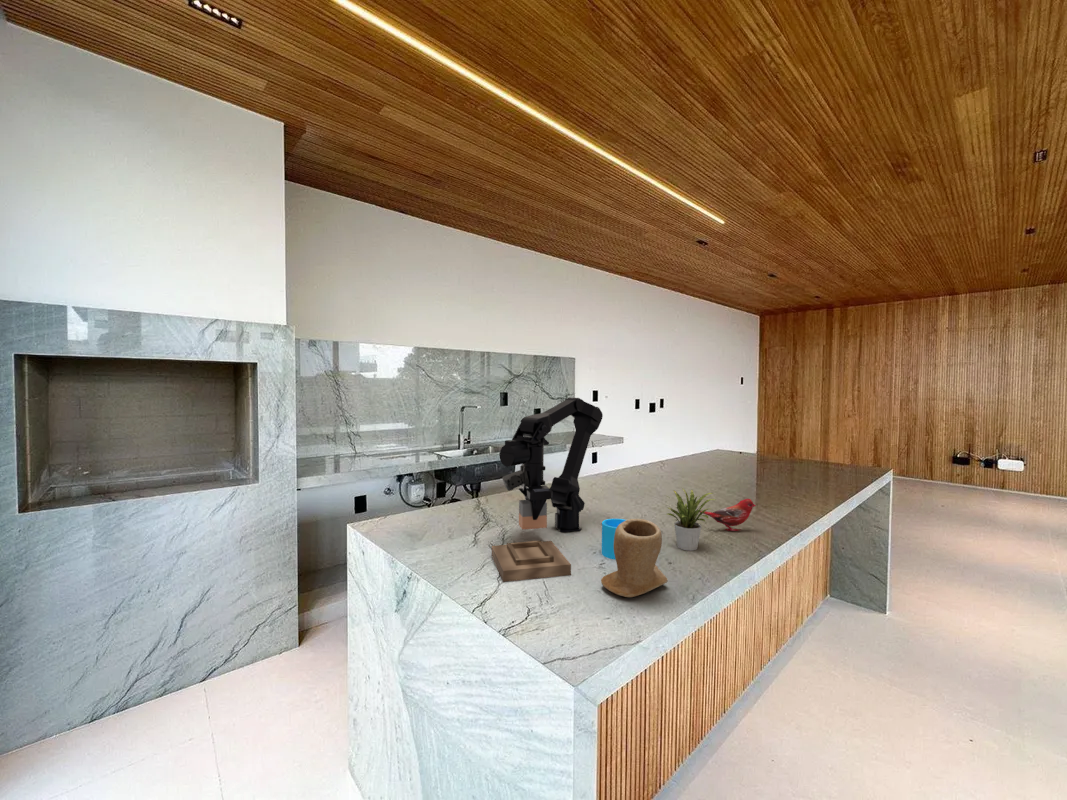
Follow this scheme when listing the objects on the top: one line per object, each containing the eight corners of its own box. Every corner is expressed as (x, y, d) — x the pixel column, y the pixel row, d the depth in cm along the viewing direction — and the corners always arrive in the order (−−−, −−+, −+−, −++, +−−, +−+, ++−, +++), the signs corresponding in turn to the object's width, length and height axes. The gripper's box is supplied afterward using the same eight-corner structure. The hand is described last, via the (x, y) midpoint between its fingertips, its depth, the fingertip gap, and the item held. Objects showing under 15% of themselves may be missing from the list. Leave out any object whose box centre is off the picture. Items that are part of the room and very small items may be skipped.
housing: (542, 522, 133) (542, 498, 132) (546, 527, 128) (547, 502, 128) (518, 524, 131) (518, 500, 131) (522, 529, 127) (522, 504, 126)
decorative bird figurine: (757, 533, 138) (758, 500, 138) (697, 532, 139) (698, 499, 138) (753, 529, 141) (754, 497, 141) (694, 529, 141) (695, 496, 141)
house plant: (728, 547, 126) (730, 488, 125) (708, 562, 116) (709, 497, 115) (679, 535, 136) (680, 480, 135) (656, 547, 126) (657, 488, 125)
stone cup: (633, 609, 92) (635, 535, 91) (593, 587, 101) (594, 519, 101) (682, 590, 100) (684, 522, 100) (641, 571, 110) (642, 509, 109)
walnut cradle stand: (551, 550, 123) (551, 536, 123) (570, 574, 108) (571, 559, 107) (491, 555, 119) (491, 541, 119) (503, 581, 104) (503, 565, 103)
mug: (613, 562, 115) (614, 530, 115) (595, 551, 123) (595, 520, 122) (651, 554, 121) (652, 523, 120) (631, 544, 128) (632, 515, 128)
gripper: (498, 457, 136) (498, 509, 137) (511, 469, 118) (511, 529, 119) (535, 456, 139) (535, 507, 139) (553, 467, 121) (552, 526, 121)
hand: (532, 517), depth 130 cm, fingers closed on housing, 4 cm apart
